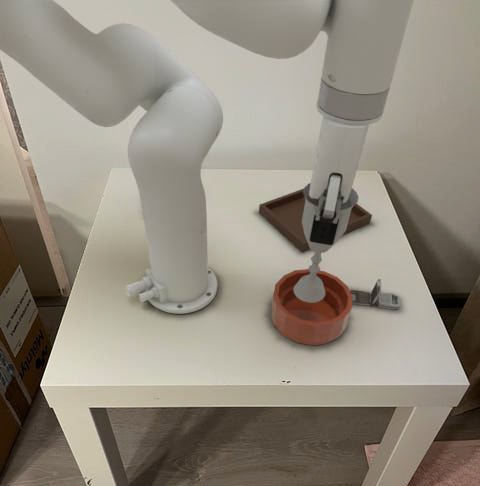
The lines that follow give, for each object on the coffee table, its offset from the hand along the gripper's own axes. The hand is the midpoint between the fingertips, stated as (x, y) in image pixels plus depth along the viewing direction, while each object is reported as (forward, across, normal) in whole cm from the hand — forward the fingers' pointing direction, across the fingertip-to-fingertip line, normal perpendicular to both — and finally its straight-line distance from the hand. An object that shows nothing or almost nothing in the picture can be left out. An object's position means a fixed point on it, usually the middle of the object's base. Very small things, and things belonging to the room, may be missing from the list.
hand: (323, 225), depth 68 cm
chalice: (+13, 0, 0) cm, 13 cm away
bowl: (+19, 0, +1) cm, 19 cm away
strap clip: (+19, -6, +11) cm, 23 cm away
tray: (+19, -28, -1) cm, 33 cm away
